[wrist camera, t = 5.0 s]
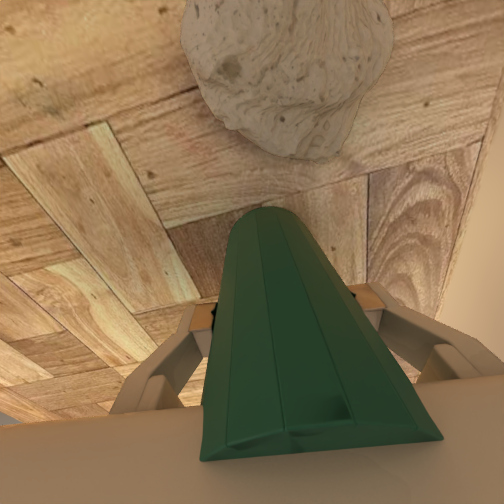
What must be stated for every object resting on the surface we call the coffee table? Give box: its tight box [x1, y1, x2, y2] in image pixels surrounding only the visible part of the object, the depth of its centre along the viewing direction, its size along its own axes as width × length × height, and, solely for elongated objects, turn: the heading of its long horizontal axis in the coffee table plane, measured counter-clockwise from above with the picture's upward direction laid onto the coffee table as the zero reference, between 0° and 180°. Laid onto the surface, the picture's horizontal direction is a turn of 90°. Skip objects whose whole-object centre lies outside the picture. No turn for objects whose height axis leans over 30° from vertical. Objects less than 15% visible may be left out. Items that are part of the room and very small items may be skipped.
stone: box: [180, 0, 394, 164], centre depth 9 cm, size 10×5×10 cm
